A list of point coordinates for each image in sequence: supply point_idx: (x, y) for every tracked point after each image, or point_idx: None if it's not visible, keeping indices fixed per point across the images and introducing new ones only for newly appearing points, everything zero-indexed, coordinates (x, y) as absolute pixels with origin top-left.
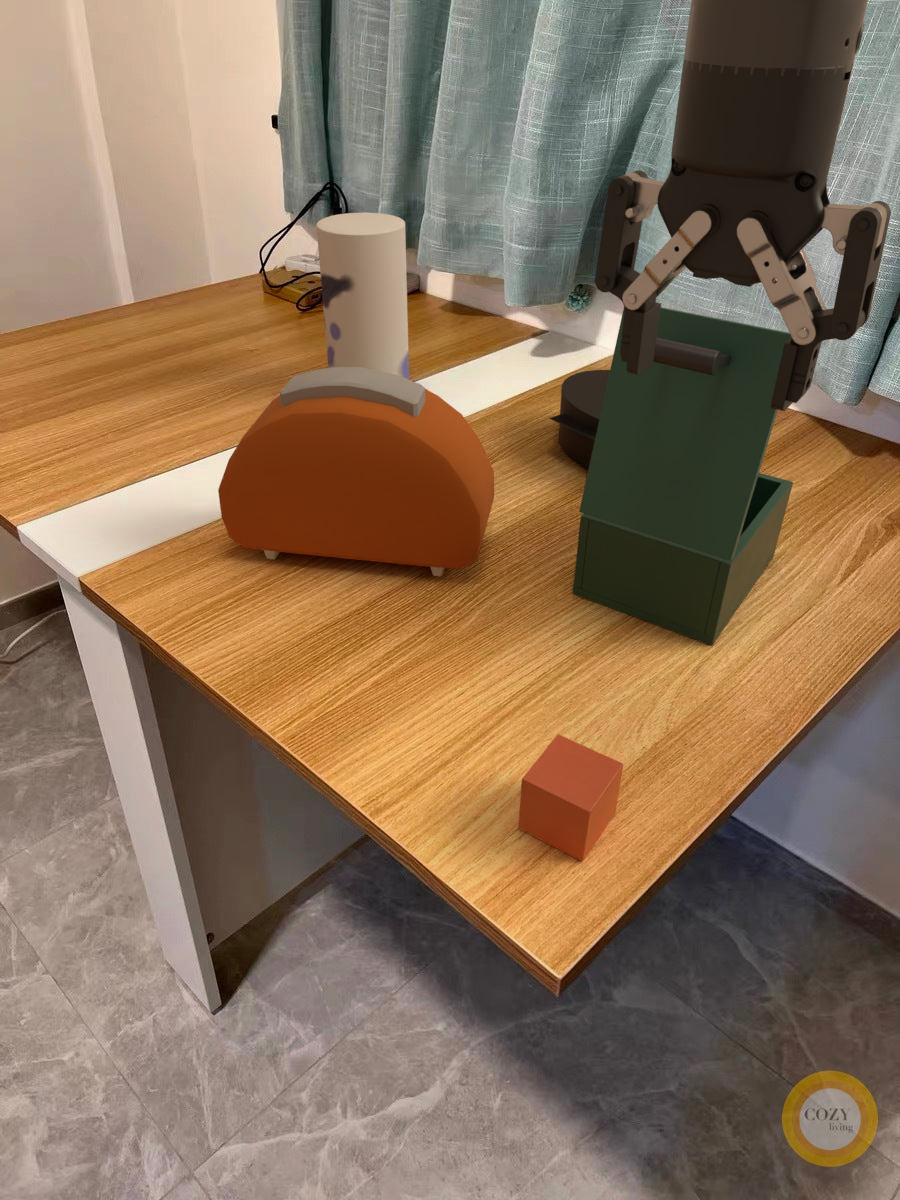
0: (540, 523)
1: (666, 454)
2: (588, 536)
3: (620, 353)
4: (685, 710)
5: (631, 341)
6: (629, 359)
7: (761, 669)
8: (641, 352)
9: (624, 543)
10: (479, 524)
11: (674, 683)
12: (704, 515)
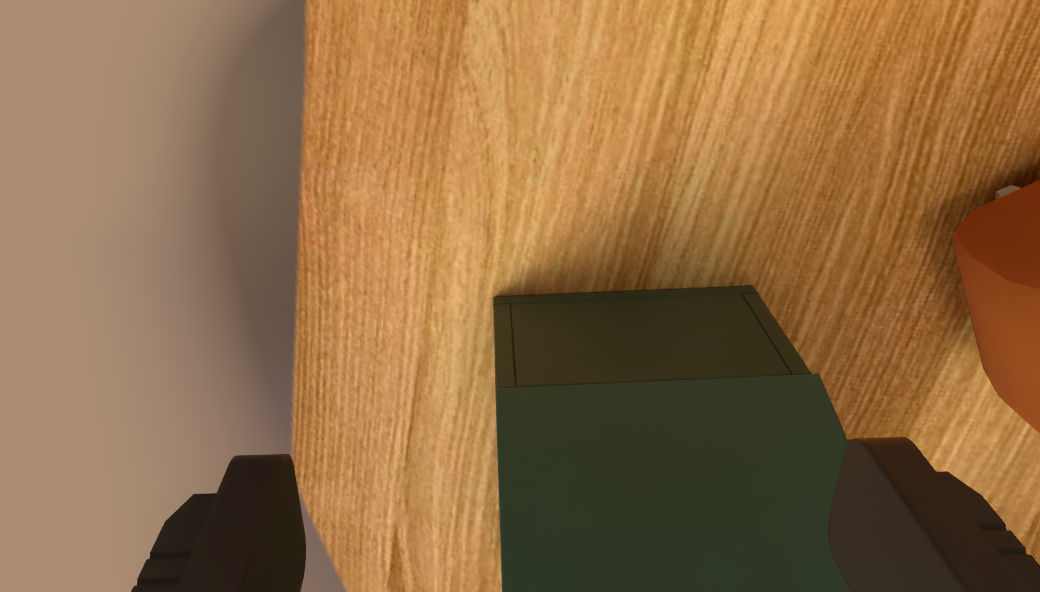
0: (882, 422)
1: (705, 526)
2: (776, 353)
3: (975, 492)
4: (460, 128)
5: (967, 525)
6: (922, 467)
7: (404, 289)
8: (892, 510)
9: (703, 362)
10: (995, 272)
11: (504, 178)
12: (574, 442)
